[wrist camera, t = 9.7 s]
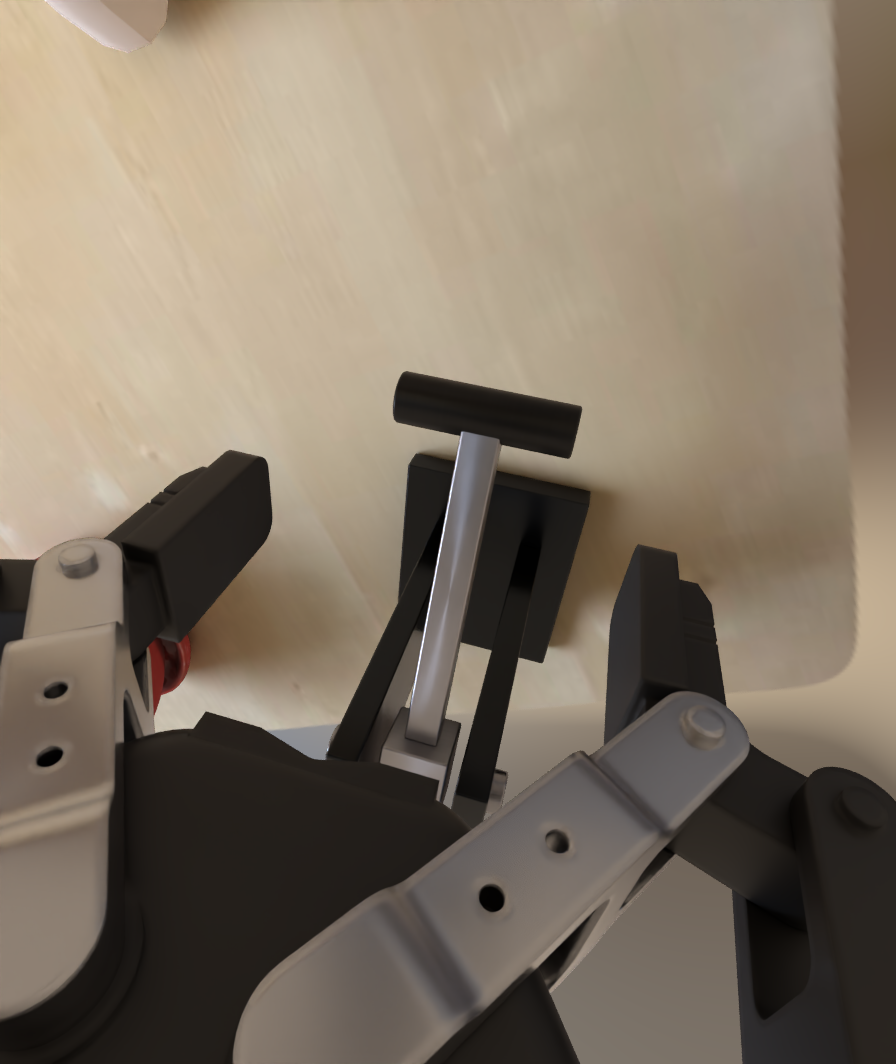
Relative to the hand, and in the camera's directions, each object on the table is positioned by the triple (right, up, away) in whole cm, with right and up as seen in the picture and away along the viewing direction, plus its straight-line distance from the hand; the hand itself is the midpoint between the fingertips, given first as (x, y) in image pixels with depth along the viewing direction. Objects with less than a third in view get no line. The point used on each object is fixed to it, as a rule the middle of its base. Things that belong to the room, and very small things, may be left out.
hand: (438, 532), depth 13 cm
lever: (0, -2, +7) cm, 7 cm away
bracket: (+2, -1, +17) cm, 17 cm away
